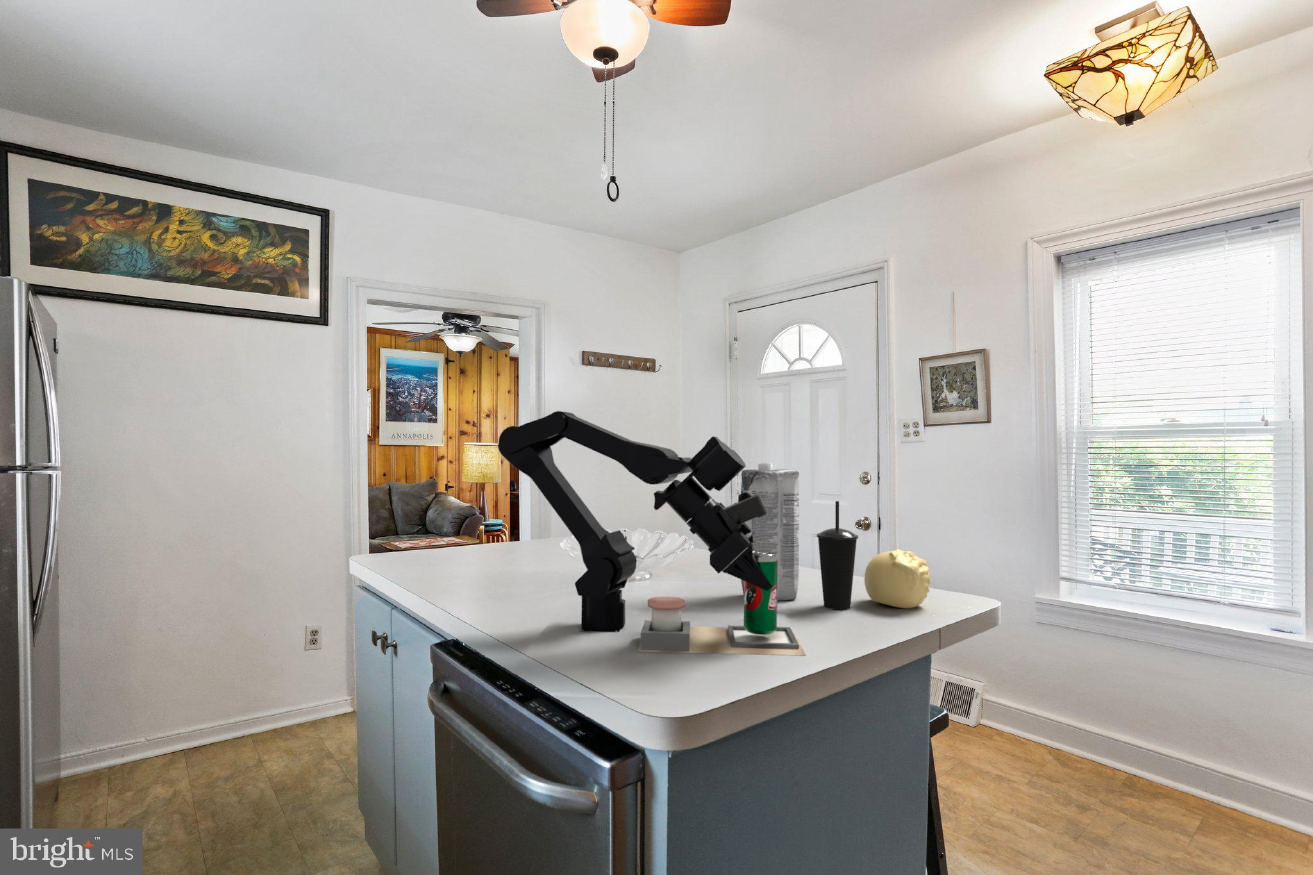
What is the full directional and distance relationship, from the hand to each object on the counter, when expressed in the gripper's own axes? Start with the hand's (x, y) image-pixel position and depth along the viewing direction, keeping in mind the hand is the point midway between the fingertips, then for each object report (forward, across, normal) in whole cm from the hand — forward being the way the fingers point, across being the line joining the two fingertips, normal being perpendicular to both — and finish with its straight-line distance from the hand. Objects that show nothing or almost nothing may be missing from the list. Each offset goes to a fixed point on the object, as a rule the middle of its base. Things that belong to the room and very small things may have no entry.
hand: (769, 585), depth 102 cm
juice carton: (+7, +32, +6) cm, 33 cm away
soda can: (+4, 0, +6) cm, 7 cm away
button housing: (-5, -5, +17) cm, 18 cm away
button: (-6, -5, +15) cm, 17 cm away
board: (+1, -2, +12) cm, 12 cm away
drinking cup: (+16, +26, -3) cm, 31 cm away
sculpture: (+24, +30, -11) cm, 40 cm away
